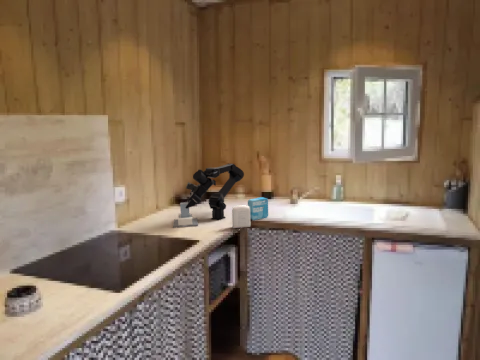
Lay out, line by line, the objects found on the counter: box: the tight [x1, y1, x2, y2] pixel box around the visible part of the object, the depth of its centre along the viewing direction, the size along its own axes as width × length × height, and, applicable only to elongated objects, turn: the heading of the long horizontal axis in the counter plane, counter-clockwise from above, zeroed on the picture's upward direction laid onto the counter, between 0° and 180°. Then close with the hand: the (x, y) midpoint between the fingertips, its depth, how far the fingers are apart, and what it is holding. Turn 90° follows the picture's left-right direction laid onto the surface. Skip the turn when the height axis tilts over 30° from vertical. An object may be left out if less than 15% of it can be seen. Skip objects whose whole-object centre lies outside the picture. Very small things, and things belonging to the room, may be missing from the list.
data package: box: [247, 196, 269, 221], centre depth 231 cm, size 12×4×12 cm, turn 123°
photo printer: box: [231, 204, 251, 229], centre depth 214 cm, size 10×4×12 cm, turn 101°
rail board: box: [172, 212, 199, 228], centre depth 225 cm, size 14×15×4 cm
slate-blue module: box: [179, 201, 191, 218], centre depth 225 cm, size 5×4×11 cm
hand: (186, 206), depth 224 cm, fingers open, 9 cm apart
